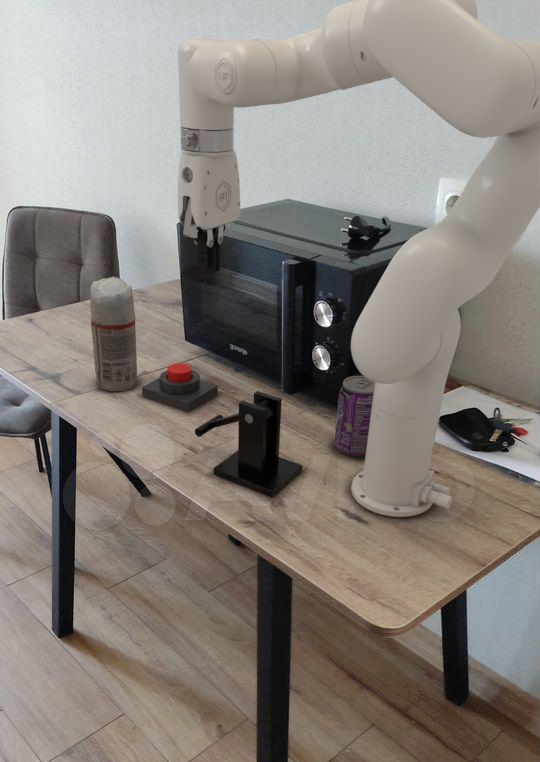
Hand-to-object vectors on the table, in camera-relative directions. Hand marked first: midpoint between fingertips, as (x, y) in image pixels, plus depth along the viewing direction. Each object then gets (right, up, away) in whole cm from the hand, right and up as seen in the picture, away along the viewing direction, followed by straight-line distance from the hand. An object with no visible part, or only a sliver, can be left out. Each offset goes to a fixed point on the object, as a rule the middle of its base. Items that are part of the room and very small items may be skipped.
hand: (209, 270), depth 110 cm
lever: (+5, -24, -1) cm, 25 cm away
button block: (-8, -17, +23) cm, 30 cm away
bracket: (+8, -32, +1) cm, 33 cm away
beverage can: (+24, -28, +9) cm, 38 cm away
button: (-7, -14, +21) cm, 26 cm away
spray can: (-20, -14, +27) cm, 36 cm away
